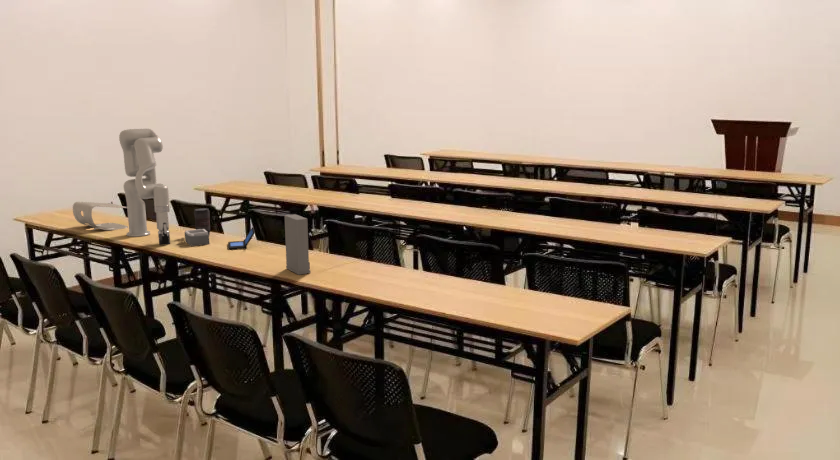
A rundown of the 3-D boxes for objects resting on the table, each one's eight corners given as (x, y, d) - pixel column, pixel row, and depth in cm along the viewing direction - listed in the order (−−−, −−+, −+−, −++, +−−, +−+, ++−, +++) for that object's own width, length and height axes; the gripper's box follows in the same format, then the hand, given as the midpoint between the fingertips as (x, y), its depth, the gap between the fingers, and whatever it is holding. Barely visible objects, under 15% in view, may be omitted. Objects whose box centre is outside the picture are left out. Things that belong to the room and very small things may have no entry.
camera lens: (213, 234, 409) (211, 208, 406) (207, 237, 401) (205, 210, 398) (199, 233, 409) (197, 207, 406) (193, 236, 401) (191, 210, 398)
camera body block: (185, 241, 390) (184, 229, 389) (203, 239, 395) (203, 228, 393) (190, 246, 378) (189, 234, 377) (209, 244, 382) (208, 232, 381)
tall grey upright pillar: (311, 273, 322) (309, 218, 317) (298, 275, 318) (296, 219, 313) (298, 267, 333) (296, 214, 328) (286, 268, 330) (284, 215, 325)
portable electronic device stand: (73, 227, 428) (71, 202, 425) (112, 222, 446) (109, 197, 443) (93, 233, 412) (91, 206, 409) (132, 227, 429) (130, 201, 426)
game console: (228, 244, 383) (227, 227, 381) (254, 242, 386) (253, 226, 385) (228, 250, 368) (227, 233, 366) (255, 249, 372) (254, 231, 370)
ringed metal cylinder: (158, 243, 384) (157, 230, 383) (169, 242, 387) (168, 229, 386) (159, 245, 379) (158, 232, 378) (171, 244, 382) (170, 231, 381)
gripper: (152, 207, 385) (154, 240, 389) (157, 211, 370) (159, 246, 374) (166, 206, 389) (169, 238, 392) (172, 210, 374) (174, 244, 377)
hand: (164, 241), depth 383 cm, fingers closed on ringed metal cylinder, 5 cm apart
